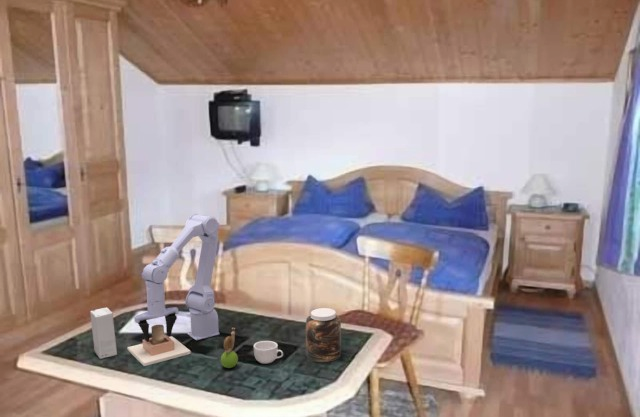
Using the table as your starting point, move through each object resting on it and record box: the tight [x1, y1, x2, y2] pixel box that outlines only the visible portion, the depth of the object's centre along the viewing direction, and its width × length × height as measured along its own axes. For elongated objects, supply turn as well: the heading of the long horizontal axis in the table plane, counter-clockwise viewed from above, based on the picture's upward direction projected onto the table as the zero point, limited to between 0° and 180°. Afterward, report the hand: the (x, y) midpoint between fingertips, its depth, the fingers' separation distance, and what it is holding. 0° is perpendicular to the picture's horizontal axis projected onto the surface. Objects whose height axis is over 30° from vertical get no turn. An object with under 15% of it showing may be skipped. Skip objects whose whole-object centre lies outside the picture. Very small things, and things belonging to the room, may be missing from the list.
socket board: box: [127, 333, 192, 367], centre depth 196 cm, size 16×16×4 cm
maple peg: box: [150, 324, 165, 345], centre depth 196 cm, size 4×4×8 cm
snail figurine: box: [220, 327, 239, 369], centre depth 184 cm, size 5×6×12 cm
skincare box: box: [89, 307, 118, 360], centre depth 194 cm, size 8×6×15 cm
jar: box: [305, 307, 342, 363], centre depth 192 cm, size 12×12×15 cm
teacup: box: [253, 340, 284, 365], centre depth 188 cm, size 10×8×5 cm
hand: (158, 338), depth 196 cm, fingers open, 7 cm apart
